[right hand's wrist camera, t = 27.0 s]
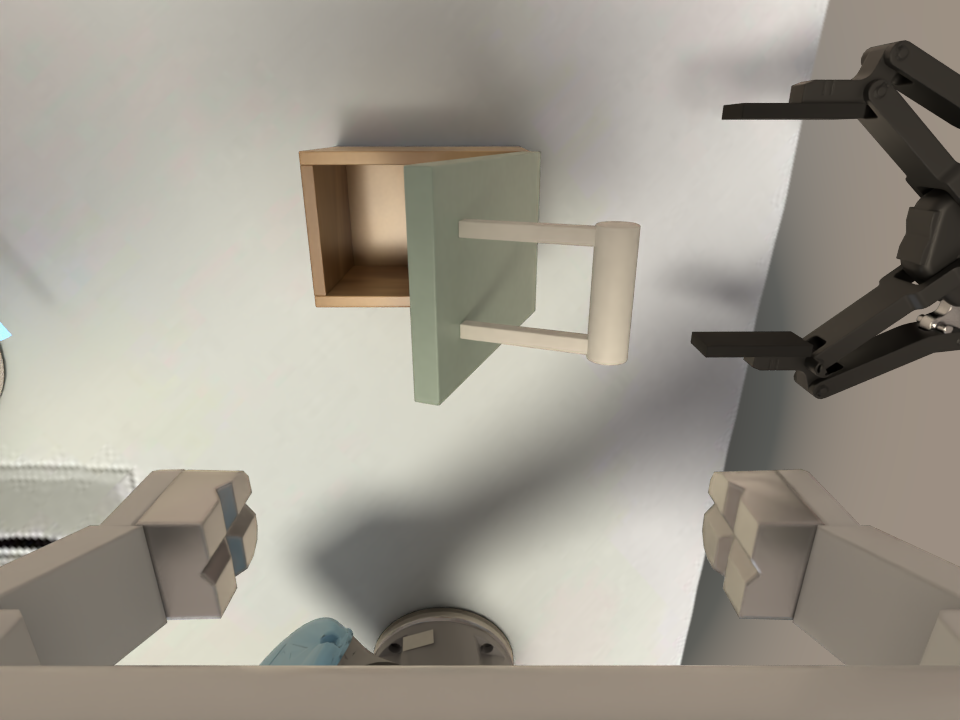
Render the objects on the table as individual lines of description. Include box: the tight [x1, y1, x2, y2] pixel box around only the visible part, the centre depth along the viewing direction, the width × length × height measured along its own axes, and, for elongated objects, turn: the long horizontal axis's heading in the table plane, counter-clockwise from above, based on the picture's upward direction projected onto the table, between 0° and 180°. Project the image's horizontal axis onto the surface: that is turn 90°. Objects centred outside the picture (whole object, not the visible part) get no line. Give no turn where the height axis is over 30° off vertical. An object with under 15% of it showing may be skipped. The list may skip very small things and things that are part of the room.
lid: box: [404, 151, 640, 406], centre depth 29 cm, size 15×10×8 cm
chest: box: [299, 146, 528, 307], centre depth 42 cm, size 14×10×10 cm
